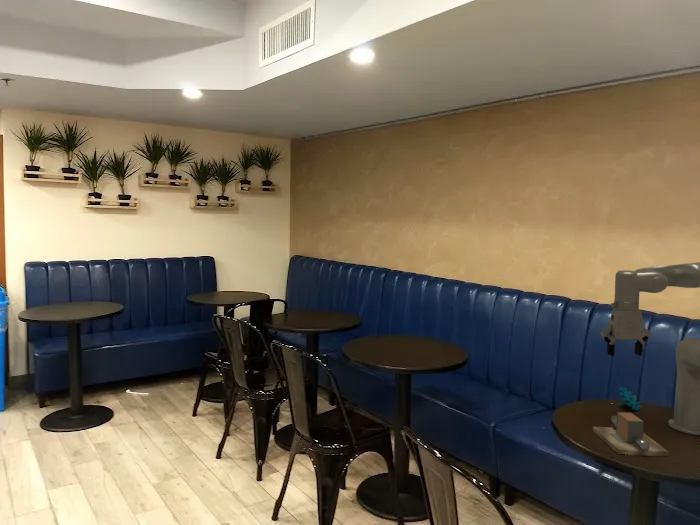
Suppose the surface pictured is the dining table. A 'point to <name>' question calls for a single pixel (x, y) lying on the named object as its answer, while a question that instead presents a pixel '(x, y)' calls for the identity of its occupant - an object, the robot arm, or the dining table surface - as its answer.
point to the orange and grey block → (629, 426)
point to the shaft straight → (641, 443)
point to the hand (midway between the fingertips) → (624, 354)
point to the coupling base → (628, 448)
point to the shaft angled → (614, 419)
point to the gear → (628, 399)
